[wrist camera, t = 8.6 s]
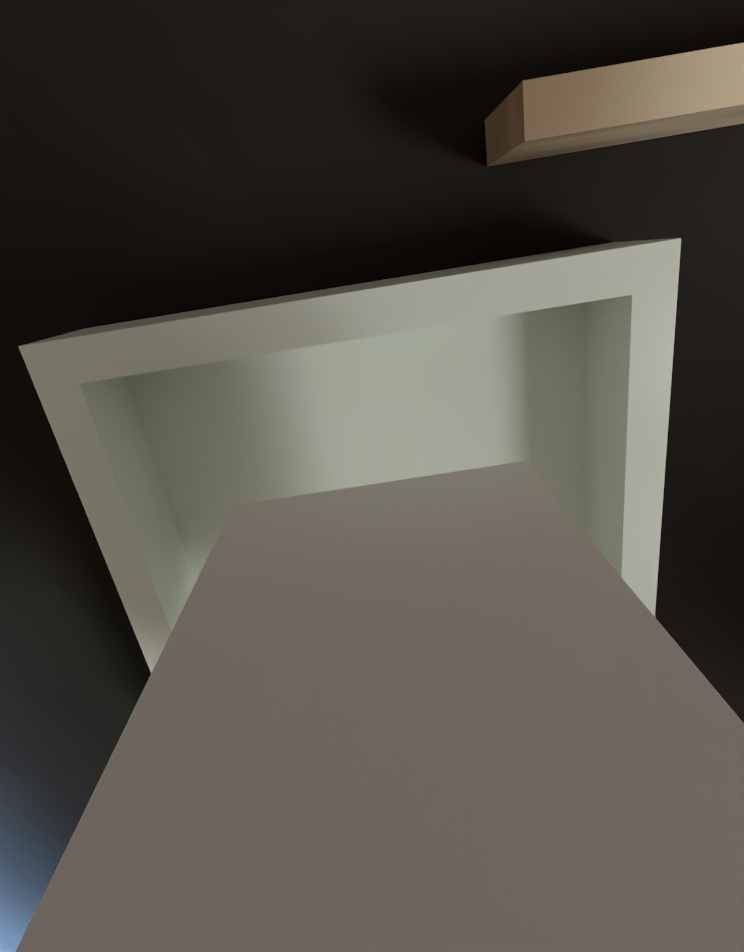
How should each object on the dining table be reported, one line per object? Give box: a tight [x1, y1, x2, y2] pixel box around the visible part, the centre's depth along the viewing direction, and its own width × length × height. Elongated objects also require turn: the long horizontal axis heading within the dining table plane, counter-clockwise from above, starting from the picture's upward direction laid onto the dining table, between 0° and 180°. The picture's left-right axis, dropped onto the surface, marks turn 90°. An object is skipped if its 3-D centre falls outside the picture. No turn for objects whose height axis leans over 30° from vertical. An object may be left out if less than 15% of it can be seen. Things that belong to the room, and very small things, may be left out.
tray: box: [18, 238, 681, 673], centre depth 12 cm, size 12×12×2 cm
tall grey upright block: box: [16, 461, 744, 952], centre depth 6 cm, size 4×6×7 cm
